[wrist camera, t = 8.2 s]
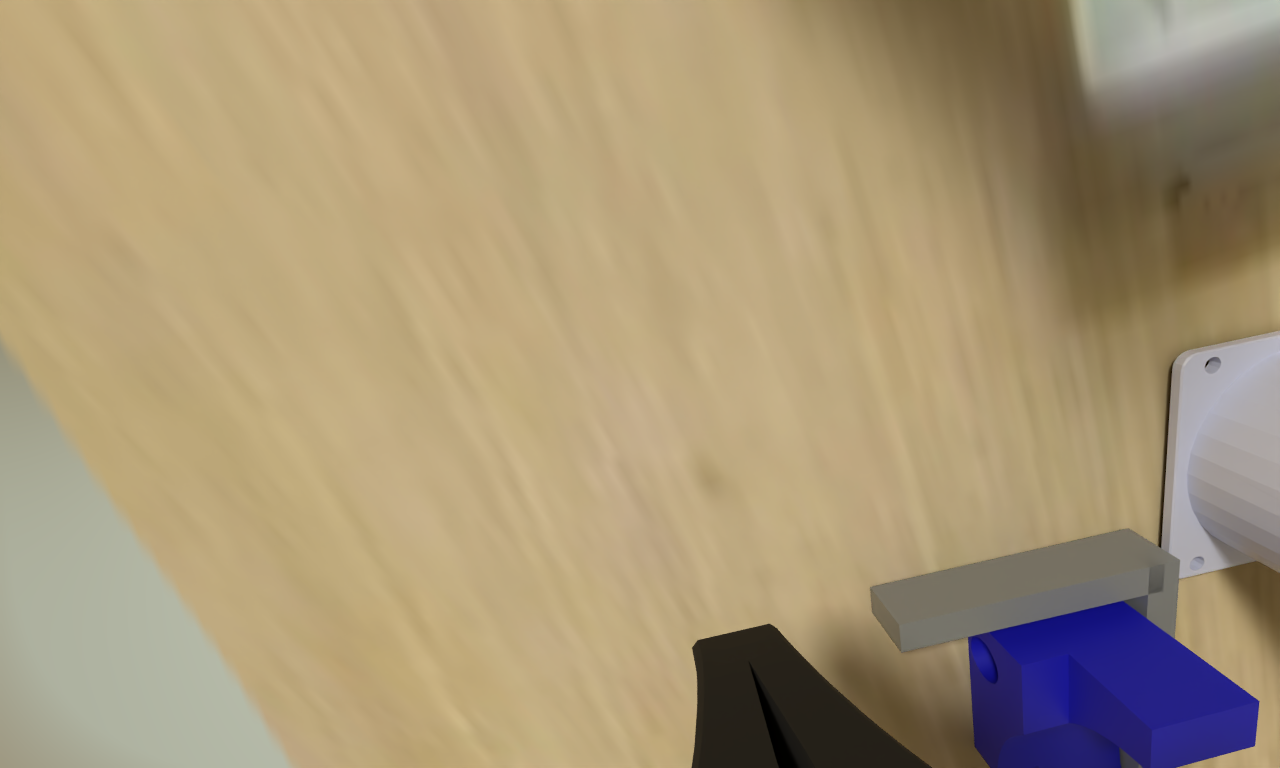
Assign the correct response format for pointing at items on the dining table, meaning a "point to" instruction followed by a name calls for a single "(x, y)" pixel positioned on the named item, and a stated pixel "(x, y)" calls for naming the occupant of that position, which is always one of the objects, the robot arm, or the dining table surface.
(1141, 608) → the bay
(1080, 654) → the blue plastic bracket
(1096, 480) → the dining table surface
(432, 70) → the dining table surface
